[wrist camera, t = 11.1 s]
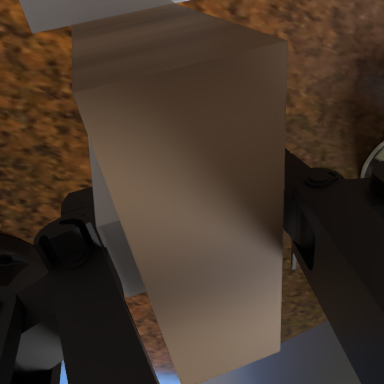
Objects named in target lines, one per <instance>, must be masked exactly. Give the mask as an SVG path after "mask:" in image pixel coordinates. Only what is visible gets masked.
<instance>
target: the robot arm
mask: <svg viewBox="0 0 384 384" xmlns="http://www.w3.org/2000/svg"><path fill="white" fill-rule="evenodd" d="M88 140H89V151H90V163H91V174H92V186H93V187H89V188H86V189H82V190H79V191H75V192H72V193H69V194H68V195H67V196H66V198H65V199H64V201H63V202H62V206H61V218H59V219H57V220H55V221H53V222H51V223H49V224H48V225H46V226H45V227H44V228H43V229H41V230H40V231H39V233H38V234H37V236H36V237H35V238H34V244H33V246H34V247H33V246H31V245H30V244H28V243H26V242H23V241H21V240H19V239H16V238H13V237H10V236H5V235H1V234H0V384H59V383H60V373H61V361H63V360H64V363H65V369H66V374H67V380H68V384H159V381H158V379H157V376H156V374H155V371H154V369H153V367H152V364H151V362H150V359H149V357H148V355H147V352H146V350H145V347H144V345H143V343H142V340H141V338H140V335H139V333H138V330H137V328H136V326H135V323H134V321H133V318H132V316H131V314H130V311H129V309H128V306H127V304H126V302H125V300H124V293H125V296H126V298H128V297H131V296H133V295H136V294H139V293H142V292H145V291H146V289H145V286H144V284H143V281H142V278H141V276H140V273H139V270H138V267H137V265H136V262H135V259H134V257H133V254H132V251H131V249H130V246H129V243H128V241H127V238H126V235H125V233H124V230H123V227H122V225H121V222H120V219H119V217H118V214H117V211H116V209H115V206H114V203H113V201H112V198H111V195H110V193H109V190H108V187H107V184H106V182H105V179H104V176H103V174H102V171H101V168H100V166H99V163H98V160H97V158H96V155H95V152H94V150H93V147H92V144H91V142H90V139H89V136H88ZM284 230H285V231H286V232H287V233H288V234H289V236H290V237H291V238H292V251H291V265H292V270H294V269H296V260H297V261H298V263H299V265H300V267H301V269H302V271H303V273H304V275H305V276H306V278H307V280H308V282H309V284H310V286H311V288H312V290H313V292H314V294H315V296H316V298H317V300H318V301H319V303H320V305H321V307H322V309H323V311H324V313H325V315H326V317H327V319H328V321H329V322H330V325H331V326H332V328H333V330H334V332H335V334H336V336H337V338H338V340H339V342H340V344H341V346H342V348H343V349H344V351H345V353H346V355H347V357H348V359H349V361H350V363H351V365H352V367H353V369H354V371H355V373H356V374H357V376H358V378H359V380H360V382H361V384H384V161H380V162H379V163H377V164H375V165H374V167H373V169H372V173H371V177H367V178H357V179H345V178H344V177H343V176H342V175H340V174H339V173H337V172H336V171H333V170H330V169H327V168H310V167H309V166H308V165H306V164H305V163H304V162H302V161H301V160H300V159H299V158H297V157H296V156H295V155H294V154H292V153H290V151H288V150H287V149H286V148H285V171H284V210H283V244H284ZM123 291H124V293H123Z"/></svg>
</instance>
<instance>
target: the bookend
mask: <svg viewBox="0 0 384 384" xmlns="http://www.w3.org/2000/svg"><path fill="white" fill-rule="evenodd" d="M19 1H20V4H21V6H22V9H23V11H24V14H25V16H26V19H27V21H28V24H29V26H30V29H31V31H32V33H36V32H41V31H46V30H51V29H55V28H60V27H65V26H70V25H72V93H73V96H74V99H75V101H76V104H77V107H78V109H79V112H80V115H81V118H82V120H83V123H84V126H85V128H86V131H87V134H88V136H89V139H90V142H91V144H92V147H93V150H94V152H95V155H96V158H97V160H98V163H99V166H100V168H101V171H102V174H103V176H104V179H105V182H106V184H107V187H108V190H109V193H110V195H111V198H112V201H113V203H114V206H115V209H116V211H117V214H118V217H119V219H120V222H121V225H122V227H123V230H124V233H125V235H126V238H127V241H128V243H129V246H130V249H131V251H132V254H133V257H134V259H135V262H136V265H137V267H138V270H139V273H140V276H141V278H142V281H143V284H144V286H145V289H146V292H147V294H148V297H149V300H150V302H151V305H152V308H153V310H154V313H155V316H156V318H157V321H158V324H159V326H160V329H161V332H162V334H163V337H164V340H165V342H166V345H167V348H168V350H169V353H170V356H171V359H172V361H173V364H174V367H175V369H176V372H177V375H178V377H179V380H180V383H181V384H199V383H202V382H204V381H207V380H209V379H212V378H214V377H216V376H219V375H222V374H224V373H227V372H229V371H232V370H234V369H236V368H239V367H242V366H244V365H247V364H249V363H251V362H254V361H256V360H259V359H262V358H264V357H266V356H269V355H271V354H274V353H276V352H279V351H280V330H281V290H282V250H283V210H284V171H285V131H286V91H287V51H288V41H287V40H284V39H281V38H278V37H275V36H272V35H269V34H265V33H262V32H259V31H256V30H253V29H250V28H247V27H244V26H241V25H238V24H235V23H232V22H229V21H226V20H223V19H220V18H217V17H214V16H211V15H208V14H205V13H202V12H199V11H196V10H193V9H190V8H187V7H184V6H181V5H178V4H175V3H179V2H183V1H188V0H19Z"/></svg>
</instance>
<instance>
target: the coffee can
mask: <svg viewBox="0 0 384 384" xmlns="http://www.w3.org/2000/svg"><path fill="white" fill-rule="evenodd" d="M380 161H384V141H383V142H381V143H380V144H379V145H378V146H377V147H376V148H375V149H374V150H373V151H372V153H371V154H370V155H369V157H368V158H367V160H366V161H365V163H364V165H363V168H362V171H361V175H360V178H367V177H371V173H372V169H373V167H374V165H375V164H377V163H379V162H380Z"/></svg>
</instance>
